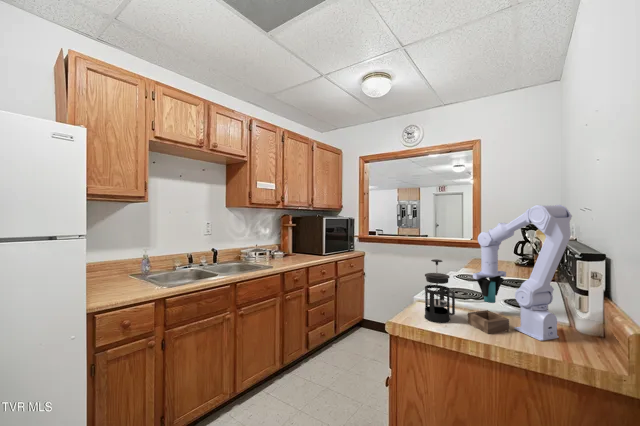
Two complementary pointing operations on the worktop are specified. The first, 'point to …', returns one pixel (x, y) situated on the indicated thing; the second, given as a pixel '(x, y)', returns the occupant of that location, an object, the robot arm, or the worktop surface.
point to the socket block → (488, 321)
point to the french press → (436, 307)
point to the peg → (491, 293)
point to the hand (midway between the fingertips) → (489, 295)
